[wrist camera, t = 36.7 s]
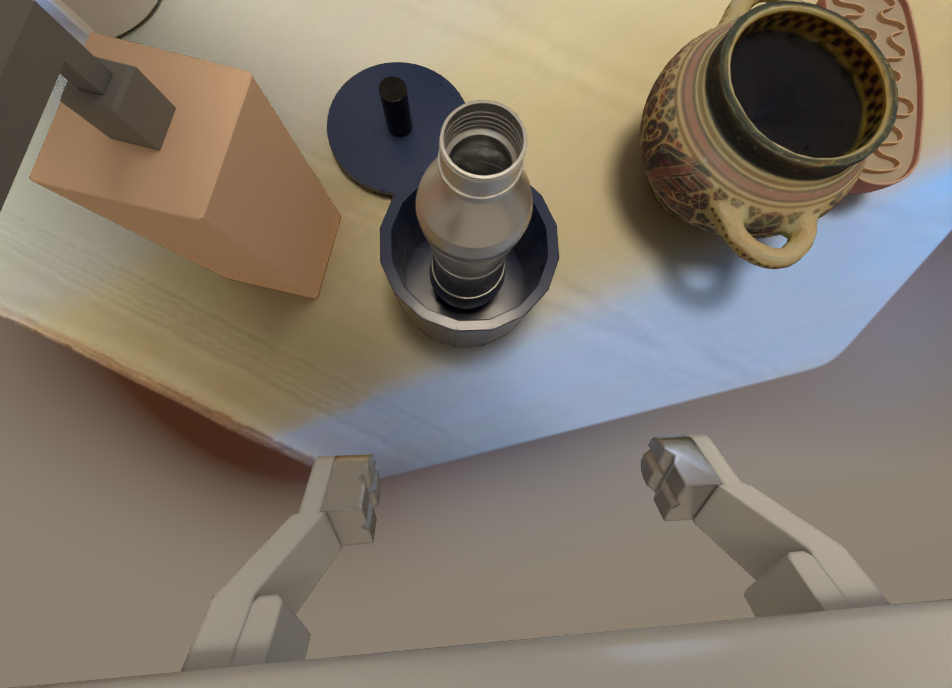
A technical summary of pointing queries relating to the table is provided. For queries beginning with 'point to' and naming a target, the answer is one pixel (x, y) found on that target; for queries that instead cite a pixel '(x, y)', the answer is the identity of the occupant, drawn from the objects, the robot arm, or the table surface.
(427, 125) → the lid
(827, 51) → the patterned ceramic jar
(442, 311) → the pot
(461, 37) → the table surface
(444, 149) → the metal water bottle
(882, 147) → the mitochondrion model
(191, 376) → the table surface
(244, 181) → the soap dispenser
